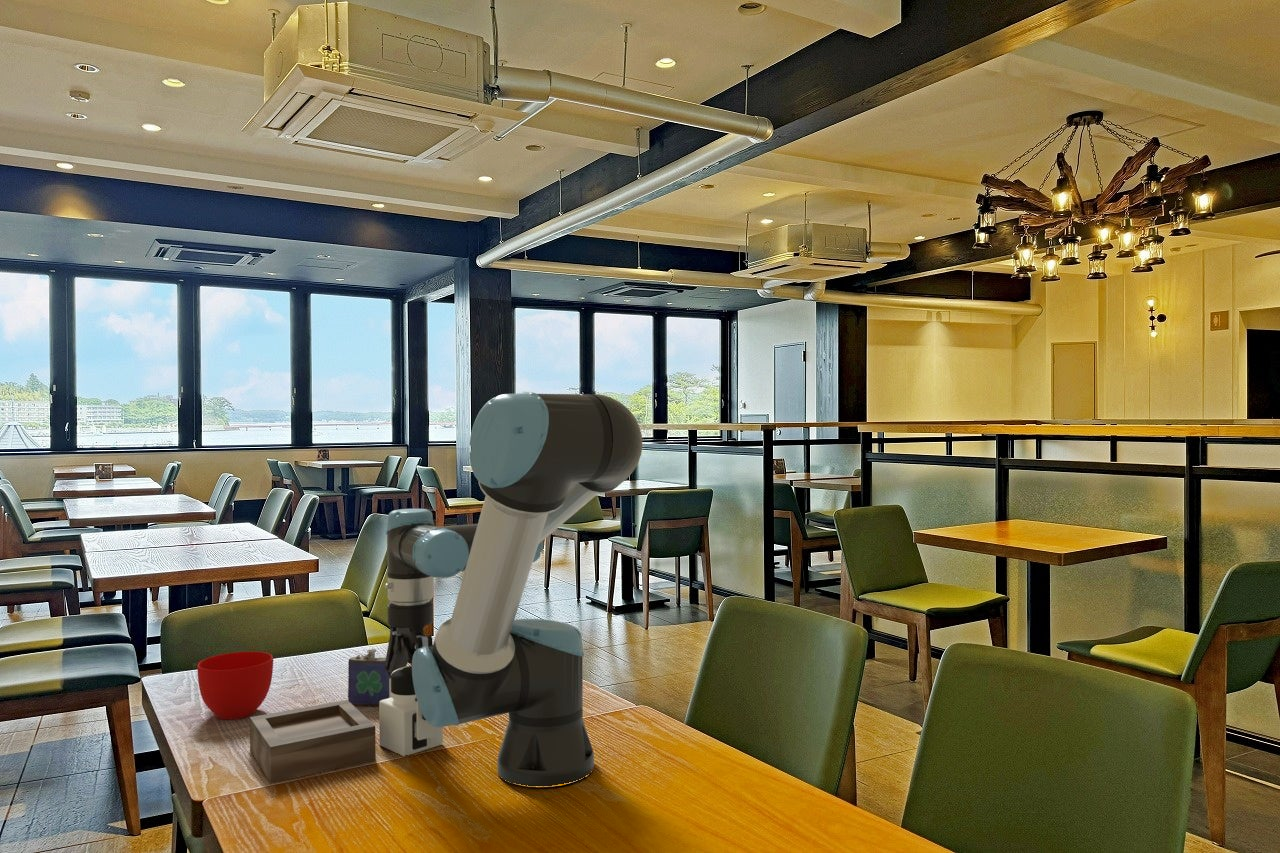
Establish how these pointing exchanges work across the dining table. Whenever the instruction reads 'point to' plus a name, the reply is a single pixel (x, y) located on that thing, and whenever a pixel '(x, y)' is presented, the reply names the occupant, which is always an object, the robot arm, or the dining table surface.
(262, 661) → the ceramic cup
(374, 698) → the flask
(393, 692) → the container
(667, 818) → the dining table surface
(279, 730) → the thick-rimmed brown tray
